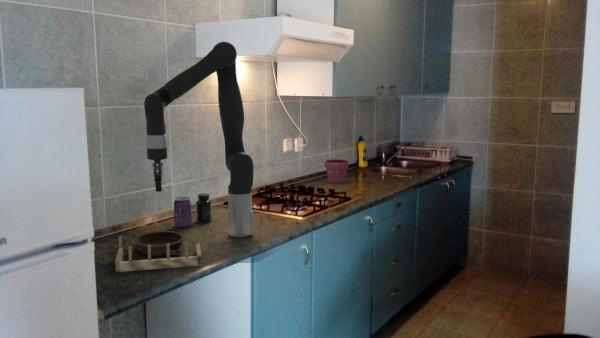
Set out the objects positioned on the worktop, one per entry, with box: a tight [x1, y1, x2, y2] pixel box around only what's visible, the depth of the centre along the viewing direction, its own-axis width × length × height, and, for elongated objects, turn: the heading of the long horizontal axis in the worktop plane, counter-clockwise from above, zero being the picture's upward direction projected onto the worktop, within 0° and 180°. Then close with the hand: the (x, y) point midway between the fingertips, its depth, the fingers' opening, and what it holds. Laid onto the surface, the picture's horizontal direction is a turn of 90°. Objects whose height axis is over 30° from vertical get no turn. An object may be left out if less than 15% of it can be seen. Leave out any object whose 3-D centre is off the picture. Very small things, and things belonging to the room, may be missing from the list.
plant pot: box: [324, 158, 350, 184], centre depth 313 cm, size 14×14×13 cm
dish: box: [133, 230, 186, 257], centre depth 192 cm, size 18×22×5 cm
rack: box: [114, 230, 203, 273], centre depth 181 cm, size 27×15×8 cm, turn 104°
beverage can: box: [173, 196, 193, 229], centre depth 221 cm, size 7×7×12 cm
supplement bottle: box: [195, 192, 213, 224], centre depth 229 cm, size 7×7×12 cm
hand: (158, 191), depth 203 cm, fingers closed
